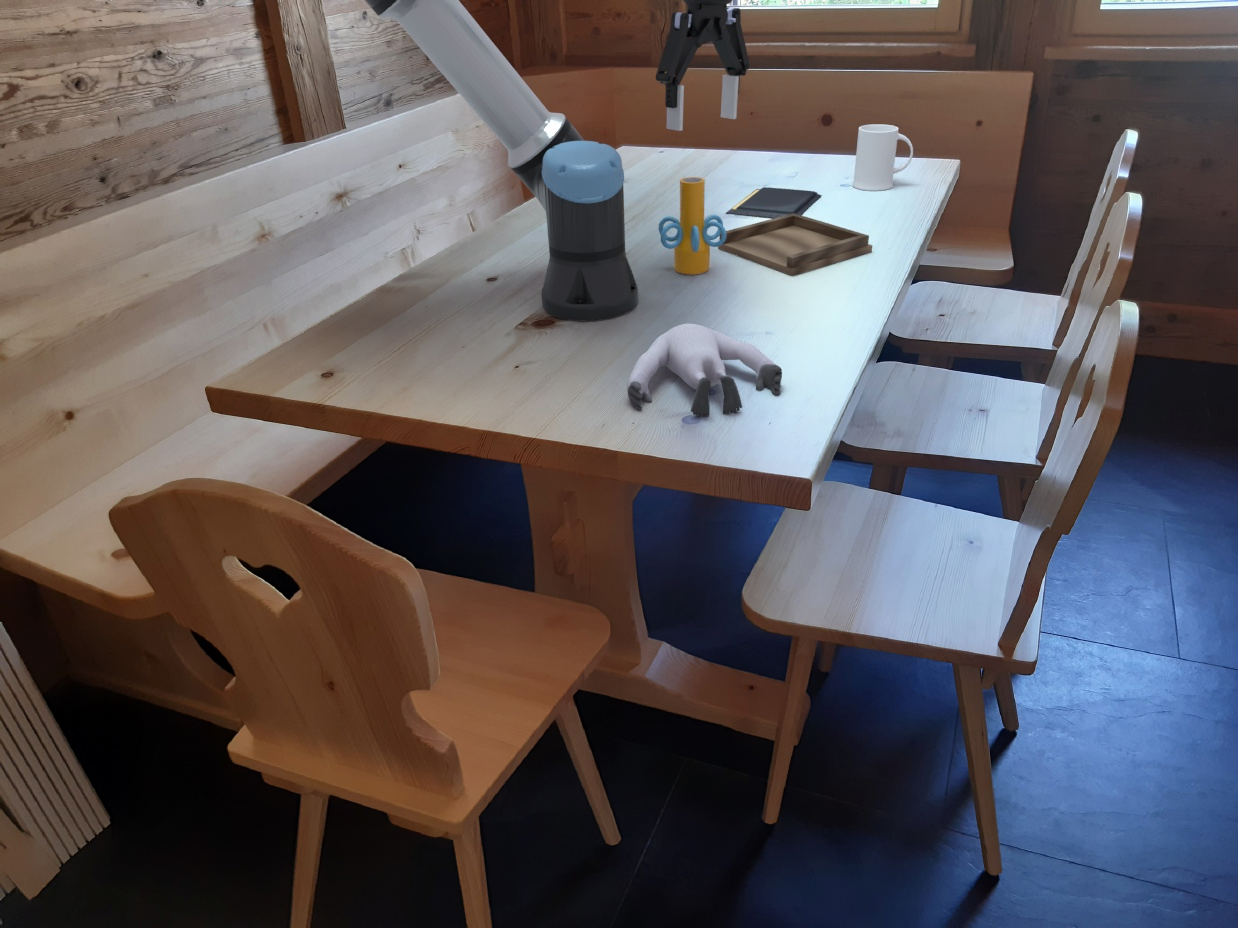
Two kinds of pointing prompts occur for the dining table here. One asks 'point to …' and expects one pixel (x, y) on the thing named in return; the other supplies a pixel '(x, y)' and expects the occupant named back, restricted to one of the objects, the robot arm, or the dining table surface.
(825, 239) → the open-sided tray
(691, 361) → the yeti figurine
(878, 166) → the mug
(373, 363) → the dining table surface
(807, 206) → the wallet
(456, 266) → the dining table surface
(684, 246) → the cylinder
